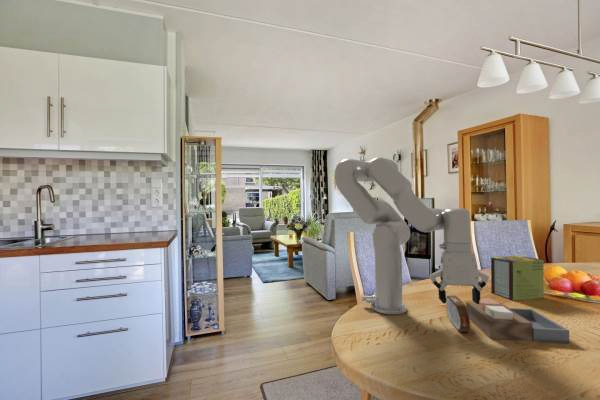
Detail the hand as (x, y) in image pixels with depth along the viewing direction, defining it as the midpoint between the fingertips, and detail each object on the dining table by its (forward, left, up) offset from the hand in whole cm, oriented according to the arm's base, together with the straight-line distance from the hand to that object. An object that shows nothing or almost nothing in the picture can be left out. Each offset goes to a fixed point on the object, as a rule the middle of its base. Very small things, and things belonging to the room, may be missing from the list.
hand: (459, 302), depth 92 cm
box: (+21, 0, -8) cm, 22 cm away
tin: (-1, 0, -8) cm, 8 cm away
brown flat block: (+11, 0, -7) cm, 13 cm away
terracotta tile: (+10, +4, -3) cm, 11 cm away
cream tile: (+10, -3, -3) cm, 11 cm away
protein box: (+35, +34, -8) cm, 50 cm away
